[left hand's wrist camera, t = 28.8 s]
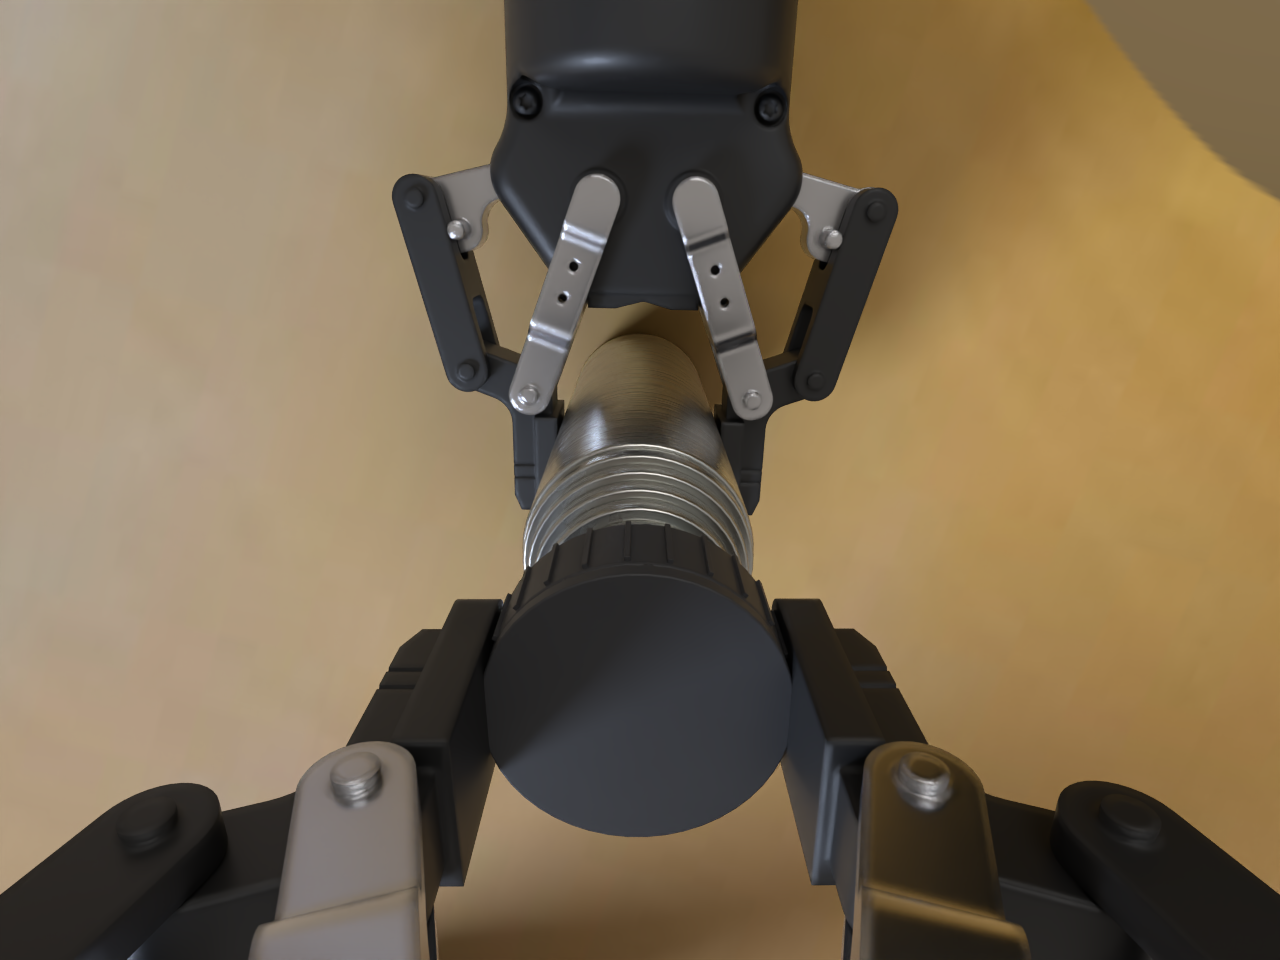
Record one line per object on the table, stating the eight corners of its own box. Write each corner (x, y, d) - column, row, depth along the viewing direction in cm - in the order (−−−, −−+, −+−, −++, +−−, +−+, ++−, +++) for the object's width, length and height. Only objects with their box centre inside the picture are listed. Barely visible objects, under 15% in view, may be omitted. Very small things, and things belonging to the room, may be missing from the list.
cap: (543, 480, 11) (526, 527, 10) (822, 569, 12) (852, 628, 10) (467, 719, 13) (441, 794, 11) (717, 789, 13) (728, 871, 12)
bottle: (666, 310, 28) (712, 482, 10) (722, 422, 29) (846, 740, 12) (552, 370, 29) (415, 625, 11) (613, 476, 30) (575, 850, 13)
